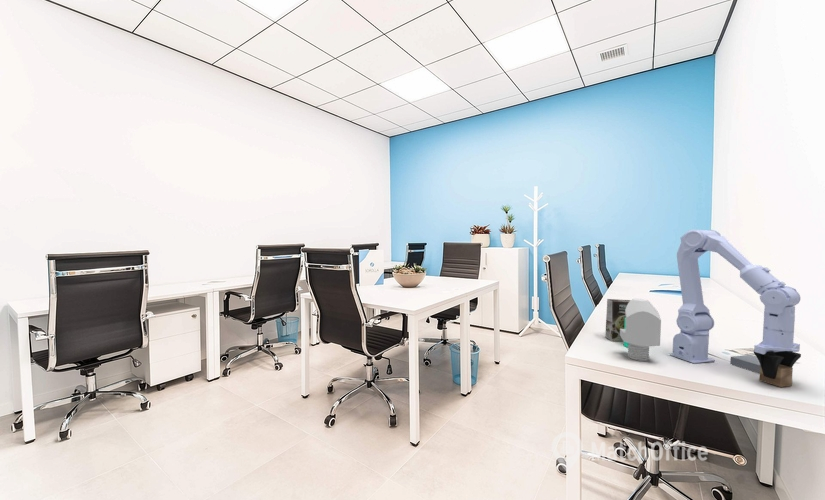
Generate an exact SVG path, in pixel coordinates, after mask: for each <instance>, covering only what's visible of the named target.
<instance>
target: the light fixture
mask: <svg viewBox="0 0 825 500" xmlns="http://www.w3.org/2000/svg"><path fill="white" fill-rule="evenodd" d="M630 300H631V301H630V302H629V303H628V305H627V307H626V309H625V315H626V329H620V336H621V338H622V340H623V341H624V342H627V343H629V344H628V347H627V358H630V359H631V360H635V361H638V362H640V361H641V362H647V361H649V358H650V347H659V346H661V332H662V331H661V330H662V318H661V315H660V313H659V311H658V310H657V309H656V307H655V306H654V305H653V304H652V303H651V301H649V300H648V299H643V298H631V299H630ZM624 342H623V343H624Z"/></svg>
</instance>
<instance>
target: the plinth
mask: <svg viewBox="0 0 825 500" xmlns="http://www.w3.org/2000/svg"><path fill="white" fill-rule="evenodd" d="M729 361H730V363H729V364H730V365H731V364H732V365H731V366H734V365H735V367H738V368H741V367H742V368H741V369H744V368H746V369H745V370H747V369H748V371H750V370H751V371H750V372H753V373H757V374H758V375H760V362H759V360H758V358H757V357H756V355H752V354H744V355H734V356H733V355H731V356H730V360H729Z"/></svg>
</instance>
